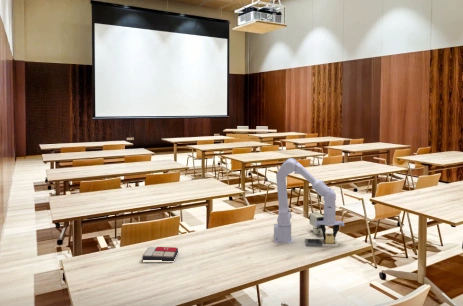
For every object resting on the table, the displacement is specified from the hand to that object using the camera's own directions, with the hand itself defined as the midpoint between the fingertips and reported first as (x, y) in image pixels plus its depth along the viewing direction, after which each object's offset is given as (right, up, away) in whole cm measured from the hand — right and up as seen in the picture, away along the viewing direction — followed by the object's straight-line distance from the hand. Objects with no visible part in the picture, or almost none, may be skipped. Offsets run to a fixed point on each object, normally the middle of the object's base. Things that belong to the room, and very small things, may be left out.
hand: (329, 239), depth 191 cm
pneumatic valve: (-2, -1, +16) cm, 16 cm away
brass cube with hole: (0, -3, 0) cm, 3 cm away
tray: (-4, -3, +1) cm, 5 cm away
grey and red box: (-85, -7, -11) cm, 86 cm away
